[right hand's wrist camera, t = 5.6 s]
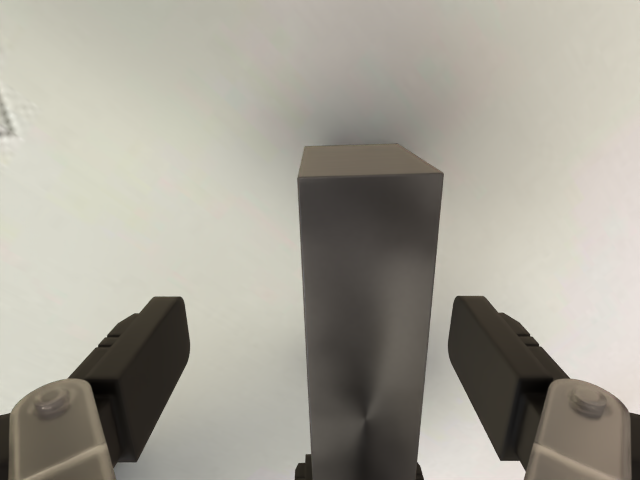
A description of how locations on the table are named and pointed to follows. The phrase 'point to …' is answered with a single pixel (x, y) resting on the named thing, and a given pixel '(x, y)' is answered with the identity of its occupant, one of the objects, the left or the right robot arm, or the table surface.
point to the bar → (367, 304)
